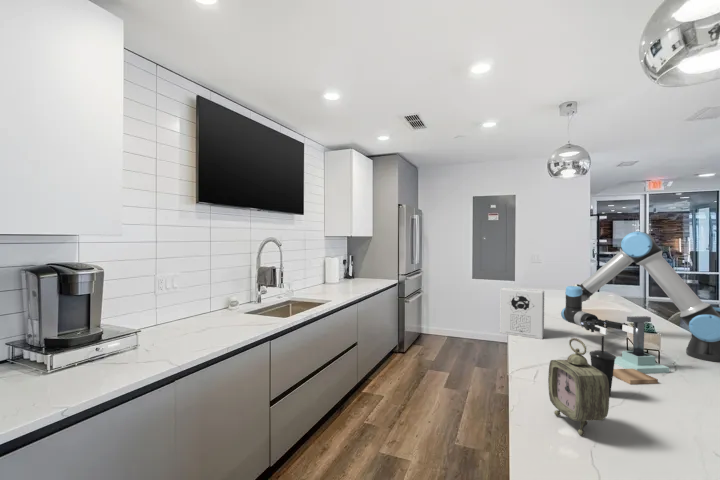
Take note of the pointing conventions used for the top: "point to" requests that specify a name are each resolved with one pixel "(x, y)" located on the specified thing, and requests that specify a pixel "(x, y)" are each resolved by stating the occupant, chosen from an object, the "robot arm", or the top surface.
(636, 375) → the walnut pad
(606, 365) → the drinking cup
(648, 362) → the square socket base
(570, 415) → the tabletop clock
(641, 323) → the t key
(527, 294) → the cereal box
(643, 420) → the top surface
